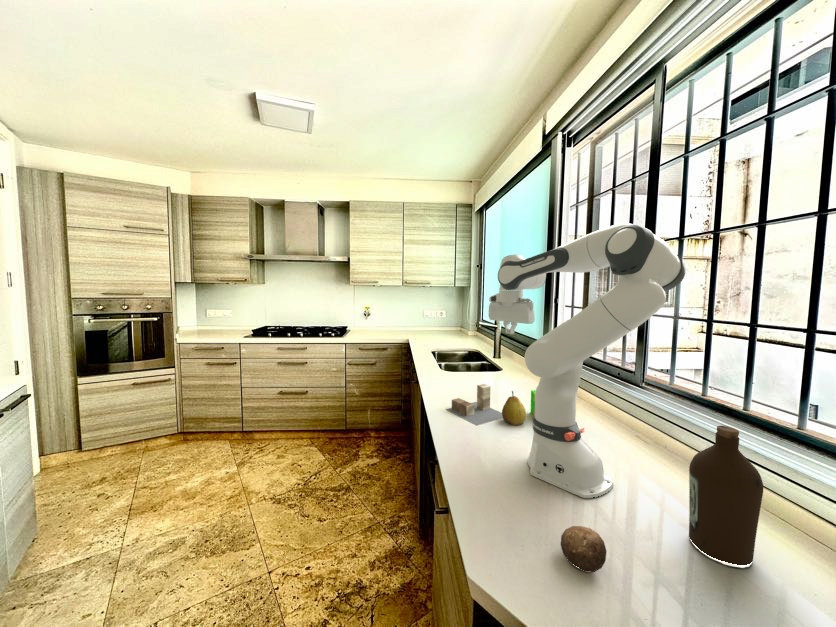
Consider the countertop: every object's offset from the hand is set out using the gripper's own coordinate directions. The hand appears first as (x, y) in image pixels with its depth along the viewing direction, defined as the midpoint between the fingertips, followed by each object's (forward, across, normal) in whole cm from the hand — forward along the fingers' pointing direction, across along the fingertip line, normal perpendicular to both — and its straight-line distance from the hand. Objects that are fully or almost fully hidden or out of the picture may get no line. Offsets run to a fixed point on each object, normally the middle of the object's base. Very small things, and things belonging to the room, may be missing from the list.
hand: (509, 333), depth 126 cm
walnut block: (+33, +12, +9) cm, 36 cm away
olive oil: (+35, -67, +13) cm, 77 cm away
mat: (+35, +13, +5) cm, 38 cm away
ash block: (+35, +15, -1) cm, 38 cm away
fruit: (+35, -2, -1) cm, 35 cm away
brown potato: (+35, -54, +39) cm, 75 cm away
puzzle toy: (+35, -6, -16) cm, 39 cm away
